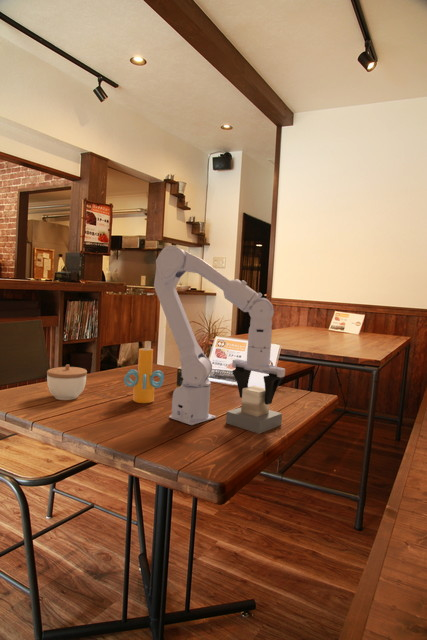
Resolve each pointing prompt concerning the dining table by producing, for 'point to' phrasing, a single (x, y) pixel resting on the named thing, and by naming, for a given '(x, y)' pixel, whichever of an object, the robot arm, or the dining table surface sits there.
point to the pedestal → (254, 420)
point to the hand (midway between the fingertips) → (255, 400)
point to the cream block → (254, 401)
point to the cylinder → (144, 378)
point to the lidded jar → (66, 382)
